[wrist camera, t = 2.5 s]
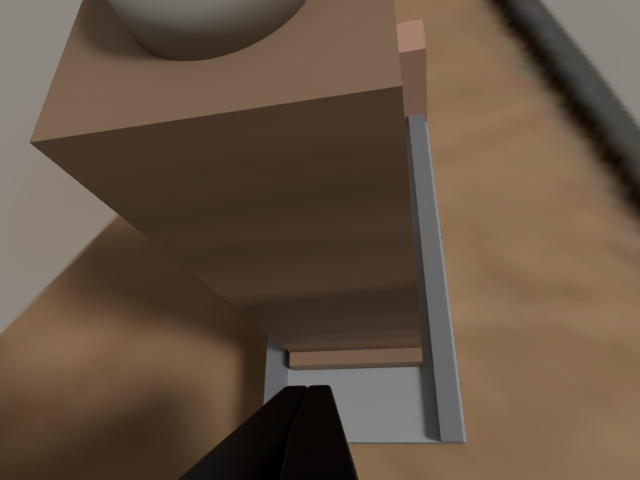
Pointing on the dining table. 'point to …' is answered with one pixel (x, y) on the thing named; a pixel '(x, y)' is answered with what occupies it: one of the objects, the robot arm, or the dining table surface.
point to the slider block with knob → (255, 159)
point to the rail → (434, 310)
